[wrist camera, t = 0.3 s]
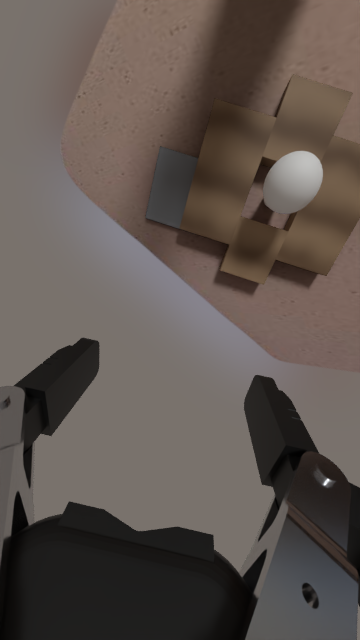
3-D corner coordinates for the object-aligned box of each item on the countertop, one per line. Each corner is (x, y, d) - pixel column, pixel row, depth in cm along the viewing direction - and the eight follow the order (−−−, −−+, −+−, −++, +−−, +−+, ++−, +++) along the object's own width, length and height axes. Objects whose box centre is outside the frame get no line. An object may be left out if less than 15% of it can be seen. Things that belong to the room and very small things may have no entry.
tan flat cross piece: (225, 70, 26) (226, 53, 24) (400, 125, 26) (419, 113, 24) (174, 254, 35) (172, 254, 33) (305, 296, 35) (312, 300, 33)
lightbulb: (298, 181, 30) (347, 147, 19) (281, 225, 32) (317, 215, 22) (259, 171, 30) (286, 132, 20) (244, 216, 32) (262, 201, 22)
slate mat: (161, 148, 30) (160, 146, 30) (217, 165, 30) (217, 164, 30) (146, 218, 34) (145, 217, 33) (196, 234, 34) (196, 234, 33)
